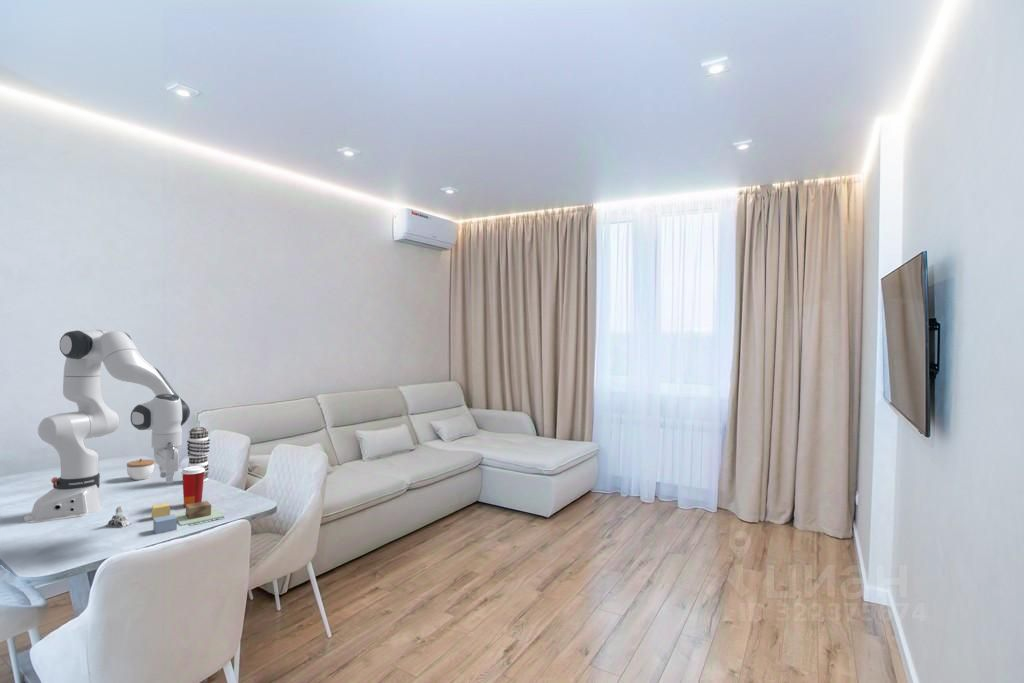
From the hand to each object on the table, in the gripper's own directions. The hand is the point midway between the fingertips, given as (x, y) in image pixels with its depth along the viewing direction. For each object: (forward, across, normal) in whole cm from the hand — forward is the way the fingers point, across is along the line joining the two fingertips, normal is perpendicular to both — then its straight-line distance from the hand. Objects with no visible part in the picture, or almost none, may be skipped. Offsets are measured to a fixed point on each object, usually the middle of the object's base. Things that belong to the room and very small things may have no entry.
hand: (166, 480), depth 177 cm
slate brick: (+18, 0, 0) cm, 18 cm away
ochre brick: (+18, +16, -1) cm, 24 cm away
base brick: (+17, +8, -12) cm, 23 cm away
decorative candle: (+18, +64, -24) cm, 70 cm away
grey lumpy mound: (+19, +17, +9) cm, 27 cm away
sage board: (+18, +8, -12) cm, 23 cm away
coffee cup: (+18, +26, -14) cm, 35 cm away
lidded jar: (+18, +84, -5) cm, 86 cm away
